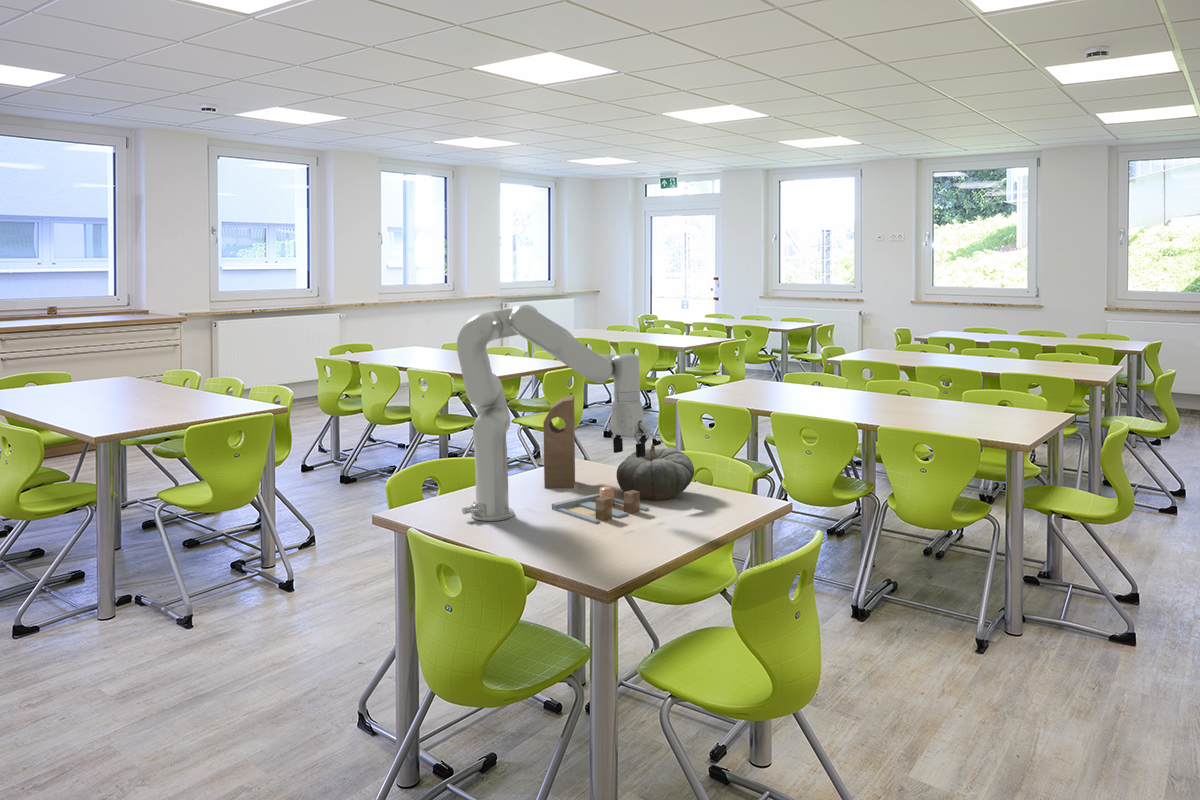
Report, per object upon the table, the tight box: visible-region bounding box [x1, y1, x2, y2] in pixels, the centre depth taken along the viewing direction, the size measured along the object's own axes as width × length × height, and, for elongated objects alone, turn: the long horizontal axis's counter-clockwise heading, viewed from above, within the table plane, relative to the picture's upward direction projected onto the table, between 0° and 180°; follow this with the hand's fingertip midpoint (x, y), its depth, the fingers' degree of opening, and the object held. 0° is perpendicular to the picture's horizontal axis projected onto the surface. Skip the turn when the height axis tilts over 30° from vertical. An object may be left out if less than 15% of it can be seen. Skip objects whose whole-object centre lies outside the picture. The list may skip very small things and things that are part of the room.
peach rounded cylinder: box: [599, 486, 616, 506], centre depth 259 cm, size 5×5×5 cm
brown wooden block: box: [587, 497, 614, 523], centre depth 245 cm, size 5×7×7 cm
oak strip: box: [594, 490, 642, 516], centre depth 256 cm, size 5×17×7 cm, turn 41°
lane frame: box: [551, 492, 650, 525], centre depth 254 cm, size 21×20×3 cm
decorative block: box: [542, 395, 576, 489], centre depth 287 cm, size 10×10×30 cm
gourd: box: [616, 443, 695, 501], centre depth 272 cm, size 25×25×17 cm
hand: (629, 454), depth 249 cm, fingers open, 9 cm apart
